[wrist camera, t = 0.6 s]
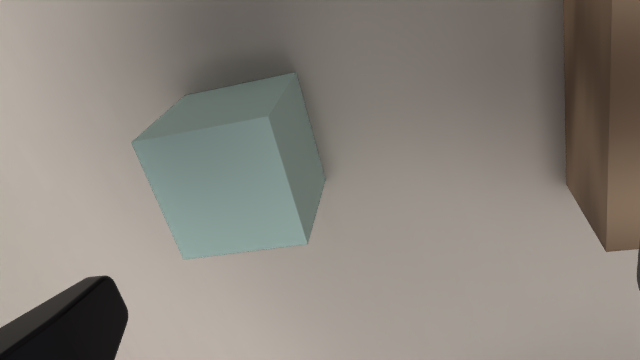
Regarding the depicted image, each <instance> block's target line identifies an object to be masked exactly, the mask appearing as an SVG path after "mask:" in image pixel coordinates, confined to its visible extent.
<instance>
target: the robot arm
mask: <svg viewBox="0 0 640 360" xmlns="http://www.w3.org/2000/svg"><path fill="white" fill-rule="evenodd" d="M637 282H638V287H639V290H640V241H639V253H638V265H637ZM127 321H128V310H127V307H126V305H125V303H124V301H123V299H122V297H121V294H120V292H119V290H118V288H117V286H116V284H115V282H114V281H113V279H112V278H110V277H109V276H94V277H88V278H85V279H83V280H82V281H80V282H78V283H77V284H75V285H73V286H71V287H70V288H68V289H66V290H65V291H63V292H61V293H59V294H58V295H56V296H54V297H53V298H51V299H49V300H47V301H46V302H44V303H42V304H41V305H39V306H37V307H35V308H34V309H32V310H30V311H29V312H27V313H25V314H23V315H22V316H20V317H18V318H17V319H15V320H13V321H11V322H10V323H8V324H6V325H5V326H3V327H1V328H0V360H114V359H115V356H116V354H117V351H118V348H119V345H120V342H121V339H122V336H123V333H124V330H125V328H126V325H127Z"/></svg>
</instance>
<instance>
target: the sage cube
mask: <svg viewBox="0 0 640 360" xmlns="http://www.w3.org/2000/svg"><path fill="white" fill-rule="evenodd" d="M131 143H132V145H133V148H134V150H135V152H136V154H137V157H138V159H139V161H140V163H141V166H142V168H143V170H144V172H145V175H146V177H147V179H148V181H149V183H150V186H151V188H152V190H153V192H154V195H155V197H156V199H157V201H158V204H159V206H160V208H161V210H162V213H163V215H164V217H165V219H166V222H167V224H168V226H169V228H170V230H171V233H172V235H173V237H174V239H175V242H176V244H177V246H178V248H179V251H180V253H181V255H182V257H183V260H185V259H193V258H201V257H209V256H217V255H225V254H233V253H241V252H249V251H257V250H265V249H273V248H281V247H289V246H297V245H305V244H308V241H309V238H310V234H311V230H312V227H313V223H314V220H315V216H316V212H317V209H318V205H319V202H320V198H321V195H322V191H323V187H324V184H325V176H324V172H323V169H322V165H321V161H320V158H319V154H318V150H317V147H316V143H315V139H314V136H313V132H312V128H311V125H310V121H309V117H308V114H307V110H306V106H305V102H304V99H303V95H302V91H301V88H300V84H299V80H298V77H297V73H296V72H294V73H290V74H285V75H280V76H275V77H271V78H266V79H261V80H256V81H252V82H247V83H242V84H237V85H233V86H228V87H223V88H218V89H213V90H209V91H204V92H199V93H194V94H190V95H185V96H184V97H183V98H182V99H180V100H179V101H178V102H177V103H176V104H175V105H174V106H172V107H171V108H170V109H169V110H168V111H167V112H166V113H164V114H163V115H162V116H161V117H160V118H159V119H158V120H156V121H155V122H154V123H153V124H152V125H151V126H149V127H148V128H147V129H146V130H145V131H144V132H143V133H141V134H140V135H139V136H138V137H137V138H136V139H135V140H133V141H132V142H131Z"/></svg>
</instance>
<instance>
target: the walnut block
mask: <svg viewBox="0 0 640 360" xmlns="http://www.w3.org/2000/svg"><path fill="white" fill-rule="evenodd" d="M563 13H564V72H565V131H566V185H567V186H568V188H569V190H570V192H571V193H572V195H573V197H574V198H575V200H576V202H577V203H578V205H579V207H580V208H581V210H582V212H583V214H584V215H585V217H586V219H587V220H588V222H589V224H590V225H591V227H592V229H593V230H594V232H595V234H596V236H597V237H598V239H599V241H600V242H601V244H602V246H603V247H604V249H605V251H606V252H610V251H621V250H631V249H639V241H640V0H563Z"/></svg>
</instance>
